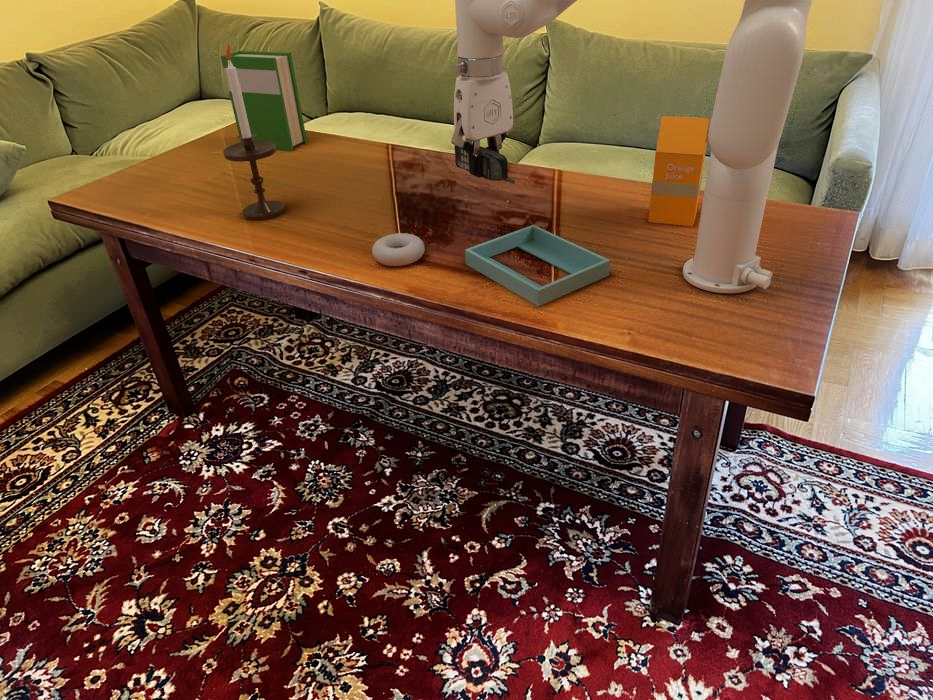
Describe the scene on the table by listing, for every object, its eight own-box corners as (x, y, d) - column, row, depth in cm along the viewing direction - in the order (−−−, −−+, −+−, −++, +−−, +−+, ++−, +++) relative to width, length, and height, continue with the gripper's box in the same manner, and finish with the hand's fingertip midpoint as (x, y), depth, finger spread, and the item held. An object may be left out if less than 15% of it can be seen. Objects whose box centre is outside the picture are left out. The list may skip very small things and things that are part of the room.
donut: (369, 251, 132) (378, 273, 124) (366, 235, 130) (375, 256, 122) (419, 243, 134) (431, 263, 126) (417, 227, 132) (429, 246, 124)
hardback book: (307, 142, 193) (290, 52, 180) (291, 150, 188) (273, 58, 174) (258, 137, 200) (238, 50, 186) (241, 145, 194) (220, 56, 181)
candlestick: (298, 206, 153) (265, 38, 134) (268, 224, 145) (227, 49, 126) (260, 200, 157) (222, 37, 138) (229, 218, 149) (183, 47, 130)
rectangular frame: (609, 275, 119) (610, 260, 117) (538, 306, 111) (538, 290, 110) (533, 238, 133) (533, 224, 131) (465, 264, 125) (464, 249, 124)
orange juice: (653, 207, 142) (664, 110, 131) (697, 211, 140) (712, 112, 128) (647, 222, 137) (658, 121, 125) (693, 226, 134) (708, 124, 122)
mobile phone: (451, 142, 126) (504, 159, 115) (463, 138, 127) (517, 154, 117) (453, 168, 128) (505, 187, 118) (465, 164, 130) (518, 182, 120)
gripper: (454, 78, 107) (460, 189, 117) (532, 61, 115) (531, 167, 125) (427, 71, 112) (435, 178, 122) (504, 55, 120) (506, 157, 130)
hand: (484, 172), depth 124 cm, fingers closed on mobile phone, 3 cm apart
